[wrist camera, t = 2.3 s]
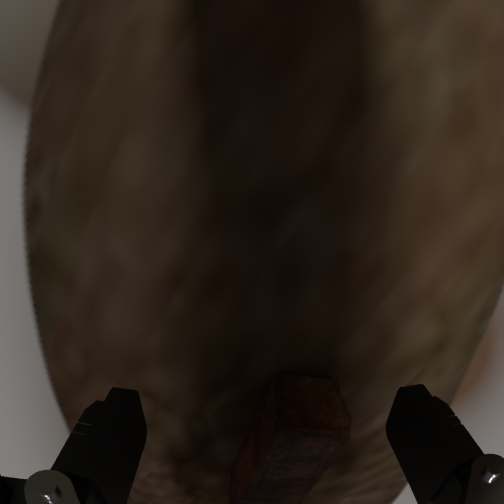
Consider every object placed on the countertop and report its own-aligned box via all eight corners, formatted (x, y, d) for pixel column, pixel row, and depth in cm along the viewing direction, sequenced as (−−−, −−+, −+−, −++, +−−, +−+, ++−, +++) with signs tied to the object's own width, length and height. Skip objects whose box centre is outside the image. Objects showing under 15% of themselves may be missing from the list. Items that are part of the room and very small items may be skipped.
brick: (270, 365, 16) (277, 426, 12) (336, 375, 17) (358, 432, 12) (228, 469, 19) (226, 520, 15) (279, 476, 20) (284, 524, 15)
